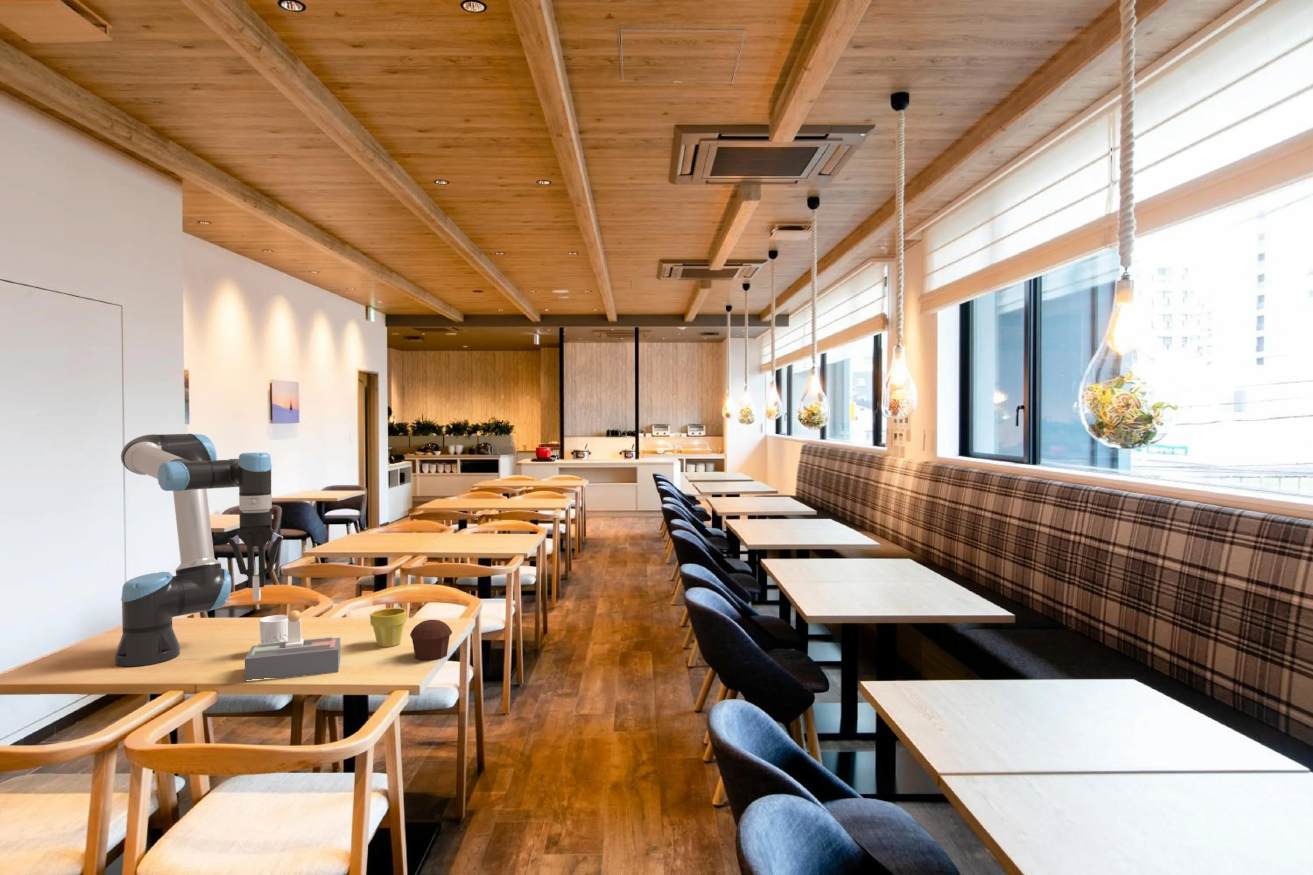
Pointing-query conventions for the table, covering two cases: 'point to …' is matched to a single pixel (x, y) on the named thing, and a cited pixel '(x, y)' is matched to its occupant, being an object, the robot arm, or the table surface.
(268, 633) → the white cup
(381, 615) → the plant pot
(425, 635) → the muffin
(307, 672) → the switch block
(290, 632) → the lever
